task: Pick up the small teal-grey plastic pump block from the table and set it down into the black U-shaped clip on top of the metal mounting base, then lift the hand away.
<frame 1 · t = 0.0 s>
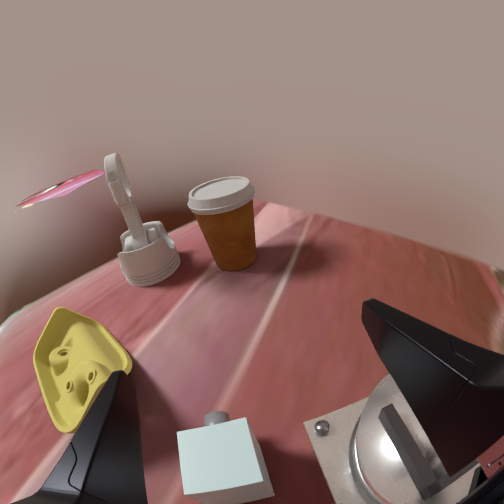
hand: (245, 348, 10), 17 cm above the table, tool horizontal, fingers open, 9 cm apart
disposable coffee cup: (236, 260, 46), on the table
metal mounting base: (426, 448, 16), on the table
engine component: (153, 270, 49), on the table
pump: (237, 477, 19), on the table
plastic component: (89, 384, 29), on the table
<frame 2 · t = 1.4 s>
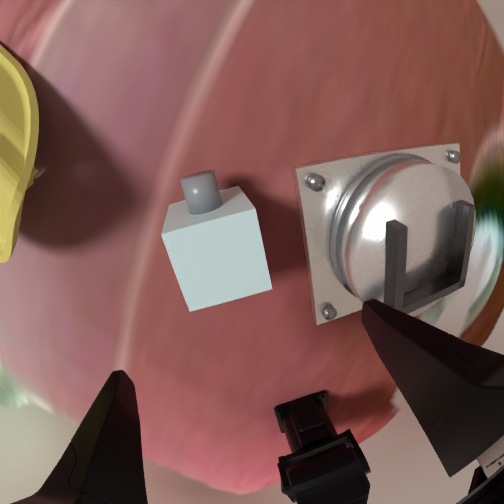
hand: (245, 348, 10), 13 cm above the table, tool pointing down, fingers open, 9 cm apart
metal mounting base: (391, 227, 24), on the table
pump: (212, 227, 21), on the table
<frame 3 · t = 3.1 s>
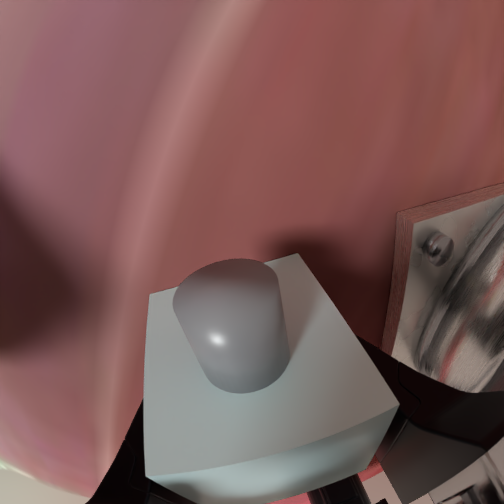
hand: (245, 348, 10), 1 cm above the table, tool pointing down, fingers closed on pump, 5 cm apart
metal mounting base: (484, 286, 14), on the table
pump: (239, 328, 11), on the table, touching gripper
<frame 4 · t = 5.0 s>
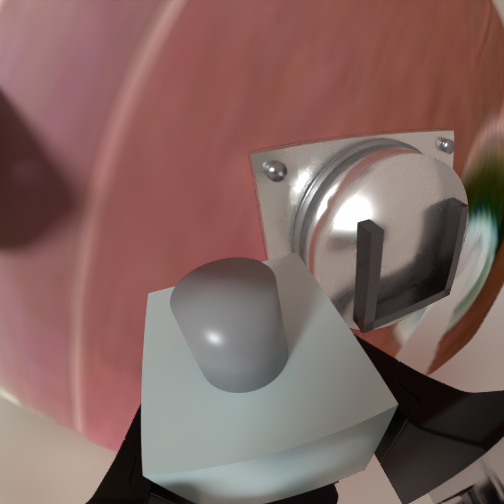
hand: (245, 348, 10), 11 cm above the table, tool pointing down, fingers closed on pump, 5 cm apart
metal mounting base: (369, 222, 22), on the table
pump: (238, 327, 11), point 10 cm above the table, touching gripper
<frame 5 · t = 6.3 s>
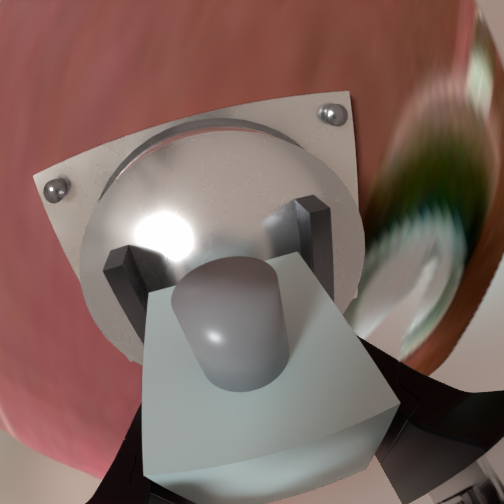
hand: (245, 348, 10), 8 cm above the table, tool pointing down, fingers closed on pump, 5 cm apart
metal mounting base: (216, 238, 17), on the table
pump: (239, 327, 11), point 7 cm above the table, touching gripper
when the fingers open (7 cm above the table, at t = 7.0 s): pump stays where it is, resting on metal mounting base.
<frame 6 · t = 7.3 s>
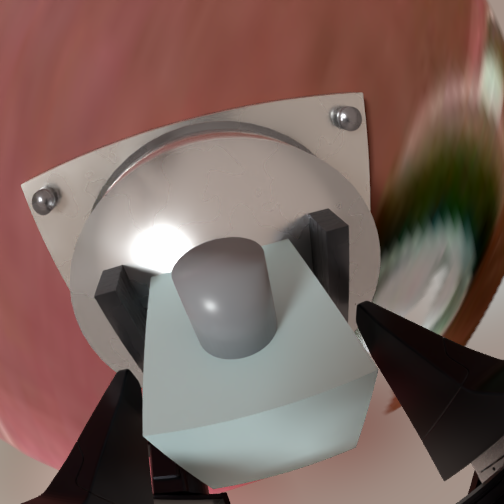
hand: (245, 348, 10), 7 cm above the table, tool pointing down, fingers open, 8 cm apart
metal mounting base: (219, 250, 16), on the table
pump: (234, 311, 11), point 5 cm above the table, touching metal mounting base
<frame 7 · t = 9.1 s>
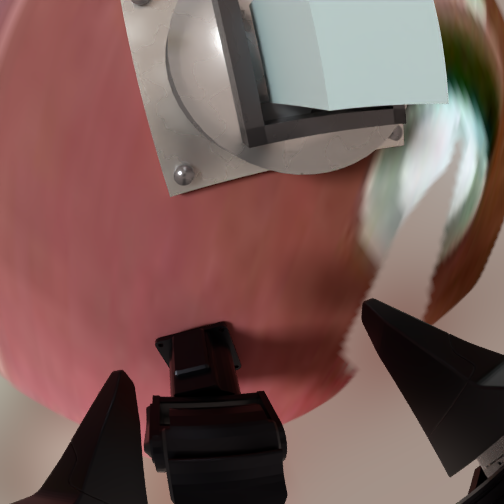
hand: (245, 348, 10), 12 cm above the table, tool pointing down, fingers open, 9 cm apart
metal mounting base: (278, 58, 15), on the table
pump: (310, 47, 11), point 5 cm above the table, touching metal mounting base
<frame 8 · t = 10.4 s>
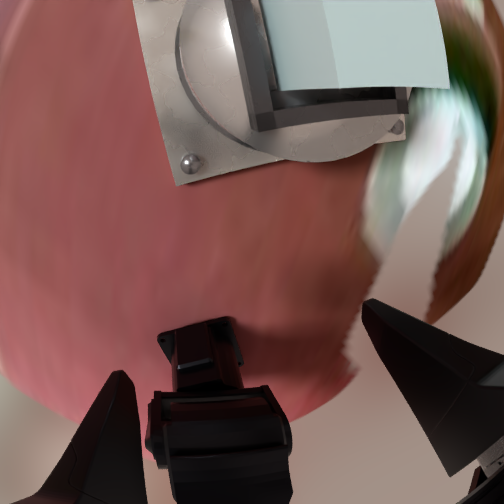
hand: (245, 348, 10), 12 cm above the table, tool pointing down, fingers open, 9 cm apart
metal mounting base: (284, 53, 16), on the table
pump: (316, 39, 11), point 5 cm above the table, touching metal mounting base
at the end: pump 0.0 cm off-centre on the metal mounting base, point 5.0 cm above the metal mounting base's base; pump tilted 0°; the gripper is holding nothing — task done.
